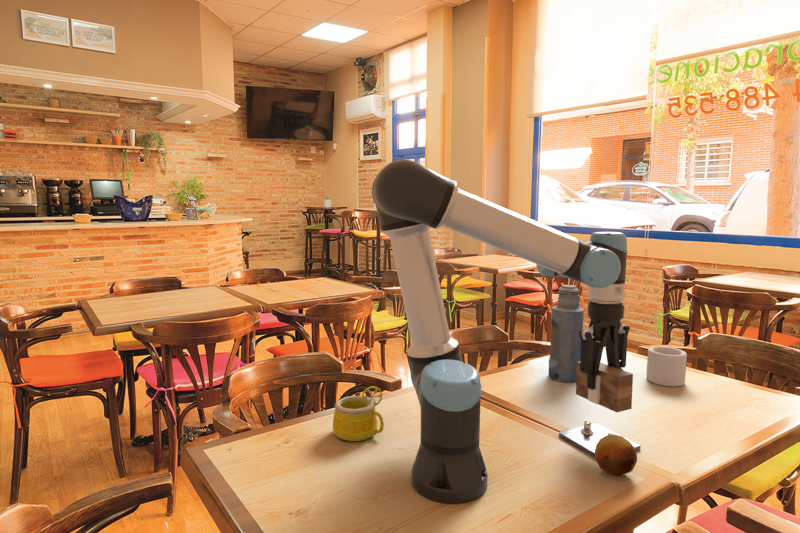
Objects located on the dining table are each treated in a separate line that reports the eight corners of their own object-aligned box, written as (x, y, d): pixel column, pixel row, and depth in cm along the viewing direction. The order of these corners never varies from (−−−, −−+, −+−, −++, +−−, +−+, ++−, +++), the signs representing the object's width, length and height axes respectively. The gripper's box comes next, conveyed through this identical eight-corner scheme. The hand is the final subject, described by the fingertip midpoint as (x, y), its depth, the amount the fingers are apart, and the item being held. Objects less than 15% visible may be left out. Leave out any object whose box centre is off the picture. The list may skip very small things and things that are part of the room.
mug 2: (692, 387, 151) (694, 355, 150) (656, 387, 151) (658, 355, 150) (668, 372, 165) (670, 343, 163) (636, 372, 165) (637, 343, 164)
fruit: (644, 479, 100) (646, 442, 99) (610, 486, 98) (612, 448, 97) (618, 461, 108) (620, 426, 107) (585, 467, 105) (587, 431, 104)
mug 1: (324, 440, 117) (323, 391, 116) (345, 421, 127) (344, 376, 126) (374, 449, 113) (374, 399, 111) (391, 429, 123) (391, 382, 121)
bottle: (543, 373, 164) (547, 283, 160) (572, 371, 165) (576, 282, 161) (555, 383, 155) (559, 288, 151) (585, 382, 156) (590, 287, 152)
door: (631, 408, 110) (633, 373, 109) (617, 412, 108) (618, 377, 107) (589, 391, 121) (590, 359, 120) (575, 394, 119) (576, 361, 118)
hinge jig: (601, 461, 108) (602, 446, 107) (558, 436, 119) (559, 422, 119) (640, 449, 113) (641, 435, 112) (595, 426, 124) (596, 413, 124)
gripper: (590, 307, 105) (586, 413, 108) (647, 299, 112) (642, 398, 115) (564, 301, 111) (561, 401, 114) (620, 294, 119) (615, 388, 122)
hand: (601, 399), depth 115 cm, fingers closed on door, 4 cm apart
